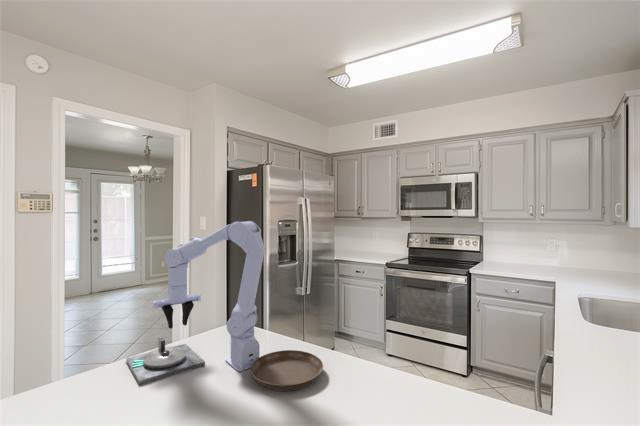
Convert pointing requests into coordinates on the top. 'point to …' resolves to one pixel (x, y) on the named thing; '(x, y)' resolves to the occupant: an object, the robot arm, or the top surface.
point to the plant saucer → (286, 370)
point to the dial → (164, 356)
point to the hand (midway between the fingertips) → (177, 326)
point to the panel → (152, 374)
